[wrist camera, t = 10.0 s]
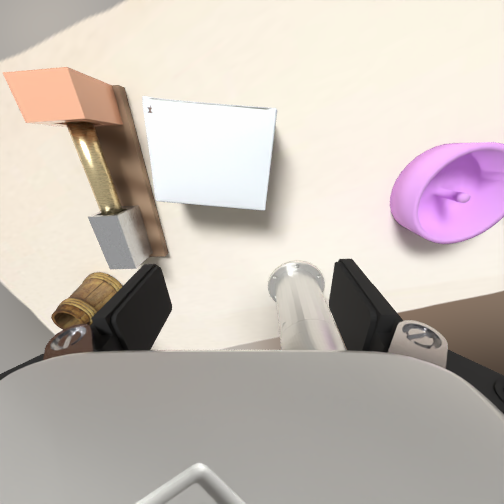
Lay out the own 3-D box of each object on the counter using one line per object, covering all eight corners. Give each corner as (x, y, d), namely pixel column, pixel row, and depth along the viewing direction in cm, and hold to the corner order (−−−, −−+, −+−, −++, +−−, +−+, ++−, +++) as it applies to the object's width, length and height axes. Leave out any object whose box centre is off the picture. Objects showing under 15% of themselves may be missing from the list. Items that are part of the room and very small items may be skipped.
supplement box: (176, 190, 39) (153, 202, 31) (169, 107, 33) (139, 93, 25) (264, 198, 39) (266, 212, 31) (274, 117, 33) (278, 106, 25)
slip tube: (135, 232, 39) (124, 239, 36) (118, 232, 39) (106, 240, 36) (91, 100, 30) (72, 94, 27) (69, 101, 30) (47, 96, 27)
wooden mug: (118, 318, 55) (59, 389, 39) (78, 280, 50) (-9, 343, 34) (143, 307, 53) (92, 377, 37) (105, 266, 47) (25, 327, 31)
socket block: (123, 124, 33) (85, 118, 26) (75, 127, 33) (26, 122, 26) (111, 85, 31) (67, 67, 24) (61, 89, 31) (2, 72, 24)
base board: (168, 253, 45) (165, 256, 44) (124, 254, 46) (120, 257, 44) (124, 87, 32) (118, 85, 31) (63, 92, 33) (55, 90, 31)
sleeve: (152, 252, 44) (136, 268, 38) (130, 253, 44) (110, 269, 38) (138, 205, 39) (117, 215, 33) (113, 206, 39) (87, 216, 33)
